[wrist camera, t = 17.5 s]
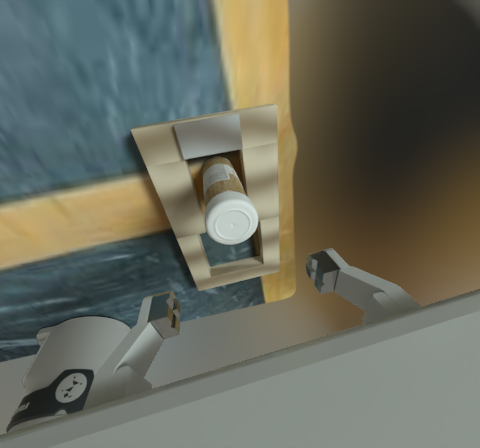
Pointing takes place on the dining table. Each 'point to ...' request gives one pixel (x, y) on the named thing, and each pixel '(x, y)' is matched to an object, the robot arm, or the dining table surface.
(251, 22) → the dining table surface
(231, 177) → the sprinkles bottle
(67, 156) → the dining table surface
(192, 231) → the keyhole board
